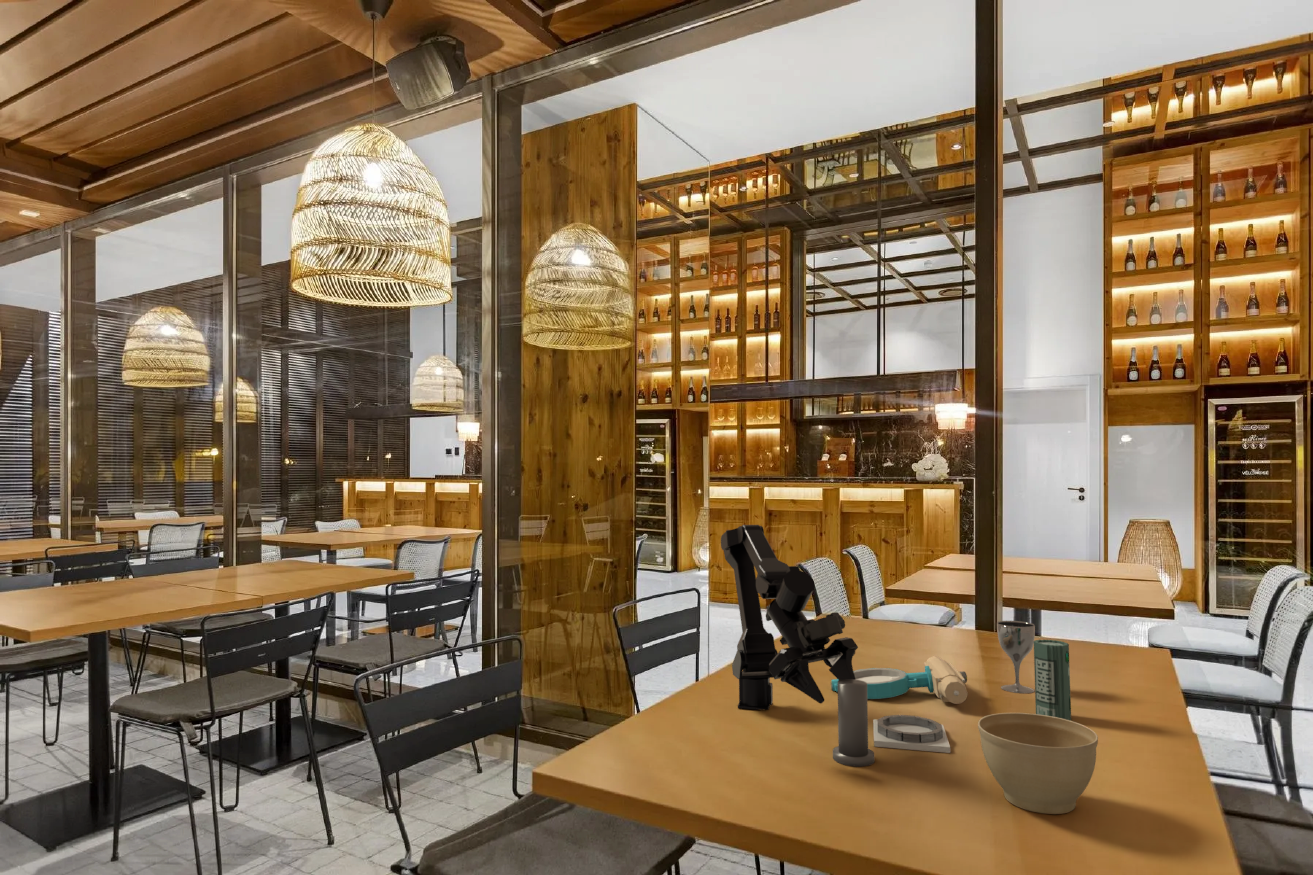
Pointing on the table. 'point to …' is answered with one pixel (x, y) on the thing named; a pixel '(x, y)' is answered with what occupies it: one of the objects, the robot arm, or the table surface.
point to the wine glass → (1016, 647)
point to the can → (1052, 678)
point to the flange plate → (910, 733)
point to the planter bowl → (1039, 759)
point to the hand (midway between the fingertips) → (840, 697)
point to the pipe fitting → (853, 724)
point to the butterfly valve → (914, 681)
